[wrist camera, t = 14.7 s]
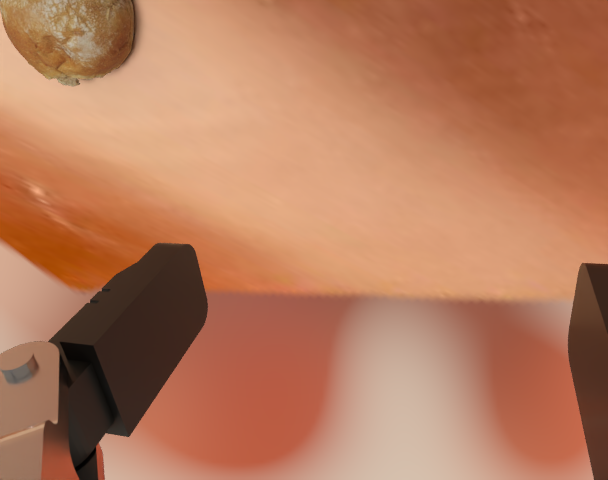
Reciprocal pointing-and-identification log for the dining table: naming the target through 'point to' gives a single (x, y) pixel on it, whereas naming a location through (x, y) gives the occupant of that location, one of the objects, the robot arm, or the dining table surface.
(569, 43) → the dining table surface
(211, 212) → the dining table surface
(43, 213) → the dining table surface
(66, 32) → the bread roll
